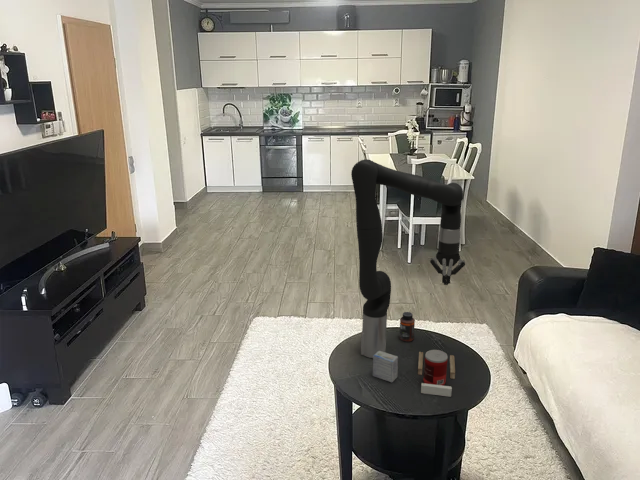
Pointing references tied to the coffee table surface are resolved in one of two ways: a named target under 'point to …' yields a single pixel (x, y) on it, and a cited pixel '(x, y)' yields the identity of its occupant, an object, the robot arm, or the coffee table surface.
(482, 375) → the coffee table surface
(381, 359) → the medicine box
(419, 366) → the wooden bars
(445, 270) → the robot arm
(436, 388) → the bar
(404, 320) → the supplement bottle
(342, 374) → the coffee table surface
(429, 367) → the canned food
